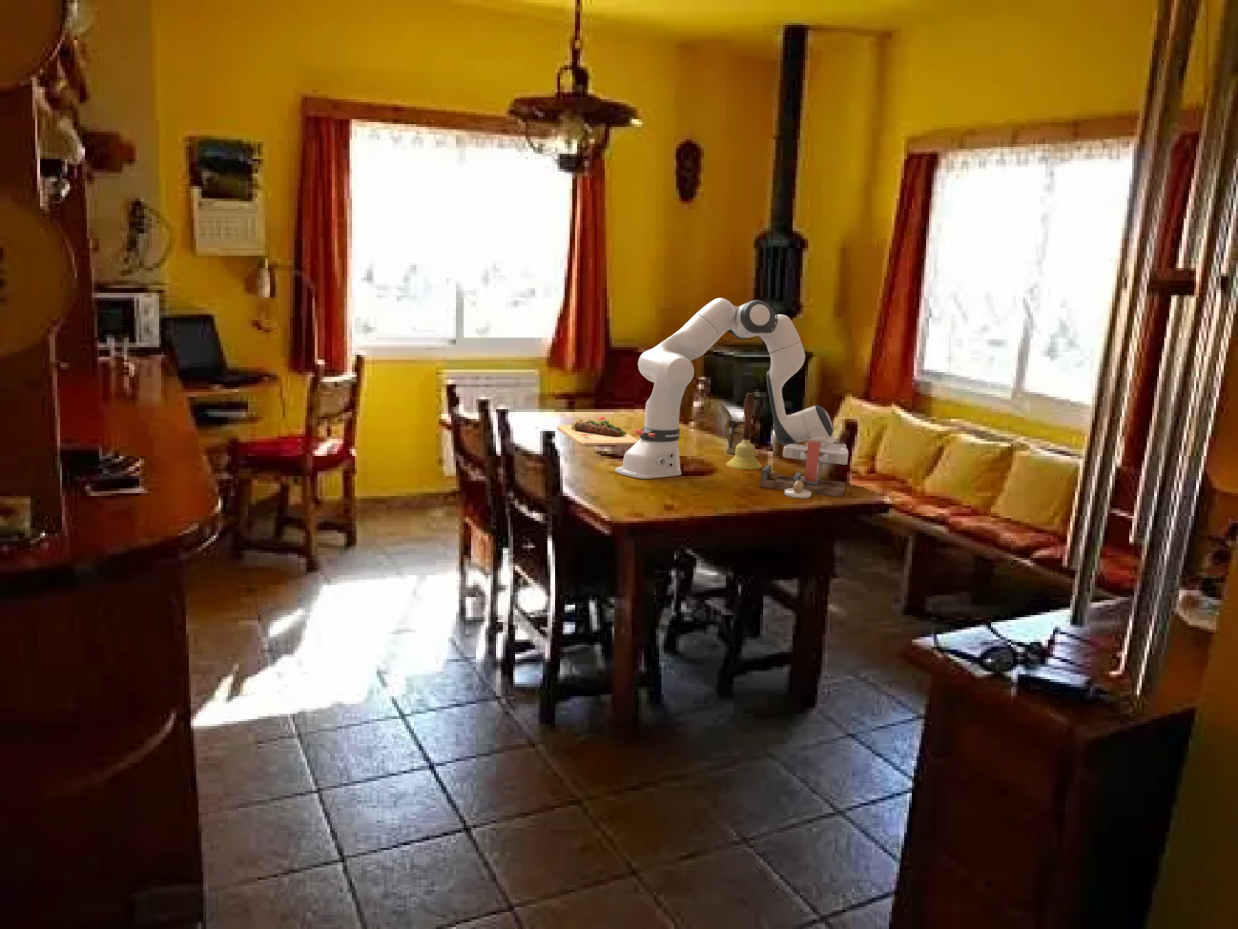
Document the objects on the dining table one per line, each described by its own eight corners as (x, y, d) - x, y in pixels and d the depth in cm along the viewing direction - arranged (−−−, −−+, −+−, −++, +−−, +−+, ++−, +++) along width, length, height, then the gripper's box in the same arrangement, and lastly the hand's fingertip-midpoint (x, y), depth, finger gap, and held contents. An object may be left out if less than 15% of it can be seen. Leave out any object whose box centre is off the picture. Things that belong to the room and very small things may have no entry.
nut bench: (760, 486, 301) (761, 470, 300) (765, 480, 310) (767, 464, 309) (841, 496, 294) (843, 480, 292) (844, 489, 303) (846, 473, 302)
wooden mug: (711, 450, 353) (714, 401, 349) (744, 450, 357) (748, 402, 353) (721, 455, 345) (725, 405, 341) (755, 455, 349) (759, 406, 345)
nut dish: (801, 499, 287) (802, 486, 286) (779, 494, 293) (780, 480, 292) (816, 496, 293) (817, 482, 292) (794, 490, 298) (795, 477, 297)
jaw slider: (792, 484, 299) (796, 441, 297) (796, 480, 306) (800, 438, 303) (817, 487, 297) (821, 444, 294) (819, 483, 303) (824, 440, 300)
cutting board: (555, 429, 381) (556, 410, 380) (612, 429, 389) (613, 410, 387) (580, 447, 349) (581, 427, 347) (641, 446, 357) (643, 426, 355)
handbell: (752, 461, 338) (758, 390, 333) (768, 469, 327) (775, 396, 321) (720, 462, 334) (725, 390, 329) (735, 470, 323) (741, 395, 317)
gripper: (787, 437, 314) (780, 444, 301) (851, 444, 307) (846, 452, 295) (785, 456, 315) (778, 464, 302) (849, 464, 309) (844, 472, 296)
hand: (812, 458), depth 298 cm, fingers closed on jaw slider, 3 cm apart
